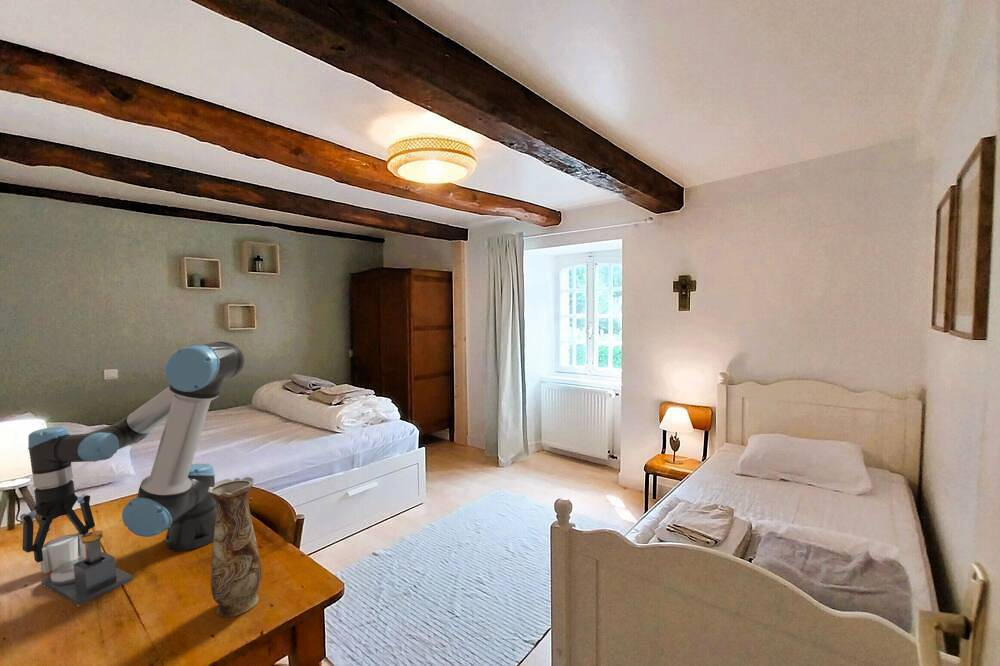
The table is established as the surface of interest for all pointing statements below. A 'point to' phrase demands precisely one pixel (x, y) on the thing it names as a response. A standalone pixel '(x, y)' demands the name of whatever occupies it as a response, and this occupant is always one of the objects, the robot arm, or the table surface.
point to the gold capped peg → (92, 546)
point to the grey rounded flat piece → (65, 573)
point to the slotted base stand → (90, 580)
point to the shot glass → (62, 550)
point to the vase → (234, 549)
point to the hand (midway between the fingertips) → (63, 563)
